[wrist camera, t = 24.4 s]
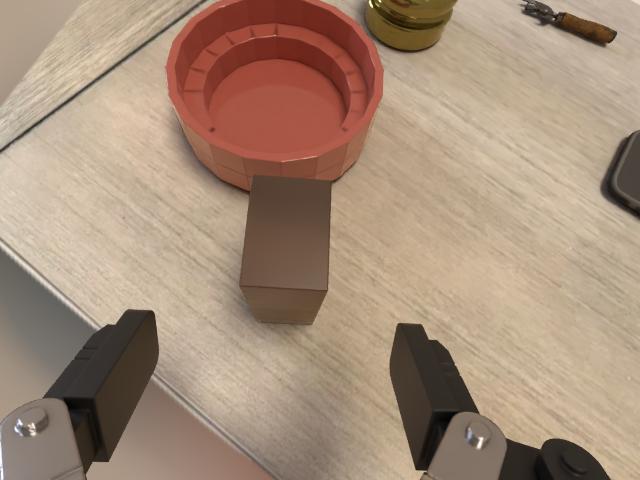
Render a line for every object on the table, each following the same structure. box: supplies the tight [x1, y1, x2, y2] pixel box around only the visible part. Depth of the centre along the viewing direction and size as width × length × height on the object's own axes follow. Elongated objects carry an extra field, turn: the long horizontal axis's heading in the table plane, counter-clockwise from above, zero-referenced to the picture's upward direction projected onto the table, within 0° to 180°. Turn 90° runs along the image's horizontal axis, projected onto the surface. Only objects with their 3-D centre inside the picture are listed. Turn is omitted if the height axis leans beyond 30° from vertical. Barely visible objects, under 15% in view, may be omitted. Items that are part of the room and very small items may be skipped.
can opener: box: [523, 0, 617, 43], centre depth 35 cm, size 9×2×1 cm, turn 59°
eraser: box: [239, 175, 332, 325], centre depth 20 cm, size 5×4×10 cm
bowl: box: [165, 0, 384, 191], centre depth 27 cm, size 14×14×5 cm
